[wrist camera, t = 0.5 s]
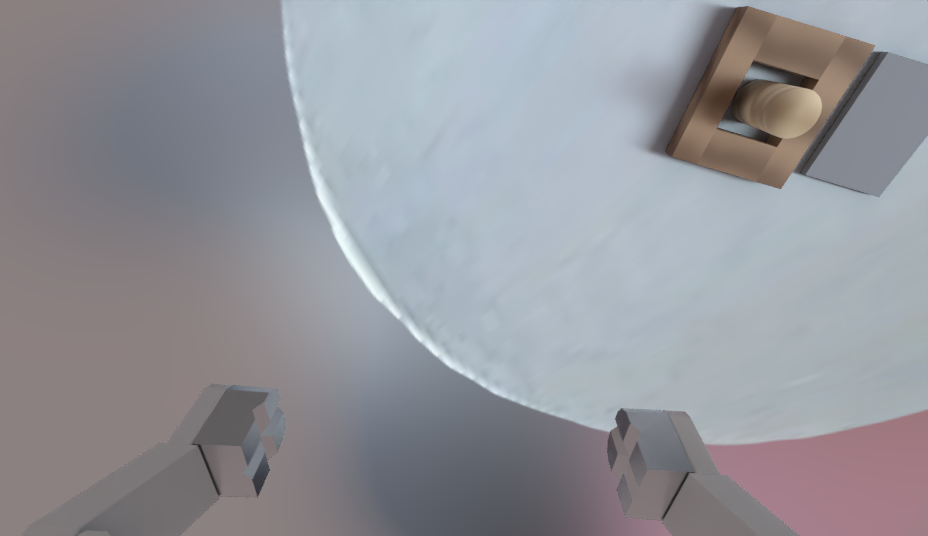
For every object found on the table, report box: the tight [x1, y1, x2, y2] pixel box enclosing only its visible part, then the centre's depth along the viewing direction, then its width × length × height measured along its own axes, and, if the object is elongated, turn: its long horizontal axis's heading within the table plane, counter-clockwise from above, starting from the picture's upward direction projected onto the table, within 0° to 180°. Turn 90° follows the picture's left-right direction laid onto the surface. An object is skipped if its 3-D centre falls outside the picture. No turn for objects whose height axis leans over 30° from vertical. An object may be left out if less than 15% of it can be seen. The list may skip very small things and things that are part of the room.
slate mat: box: [800, 52, 928, 197], centre depth 47 cm, size 13×9×1 cm
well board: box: [666, 6, 875, 189], centre depth 47 cm, size 15×13×2 cm
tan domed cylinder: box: [732, 80, 822, 139], centre depth 44 cm, size 4×4×8 cm
